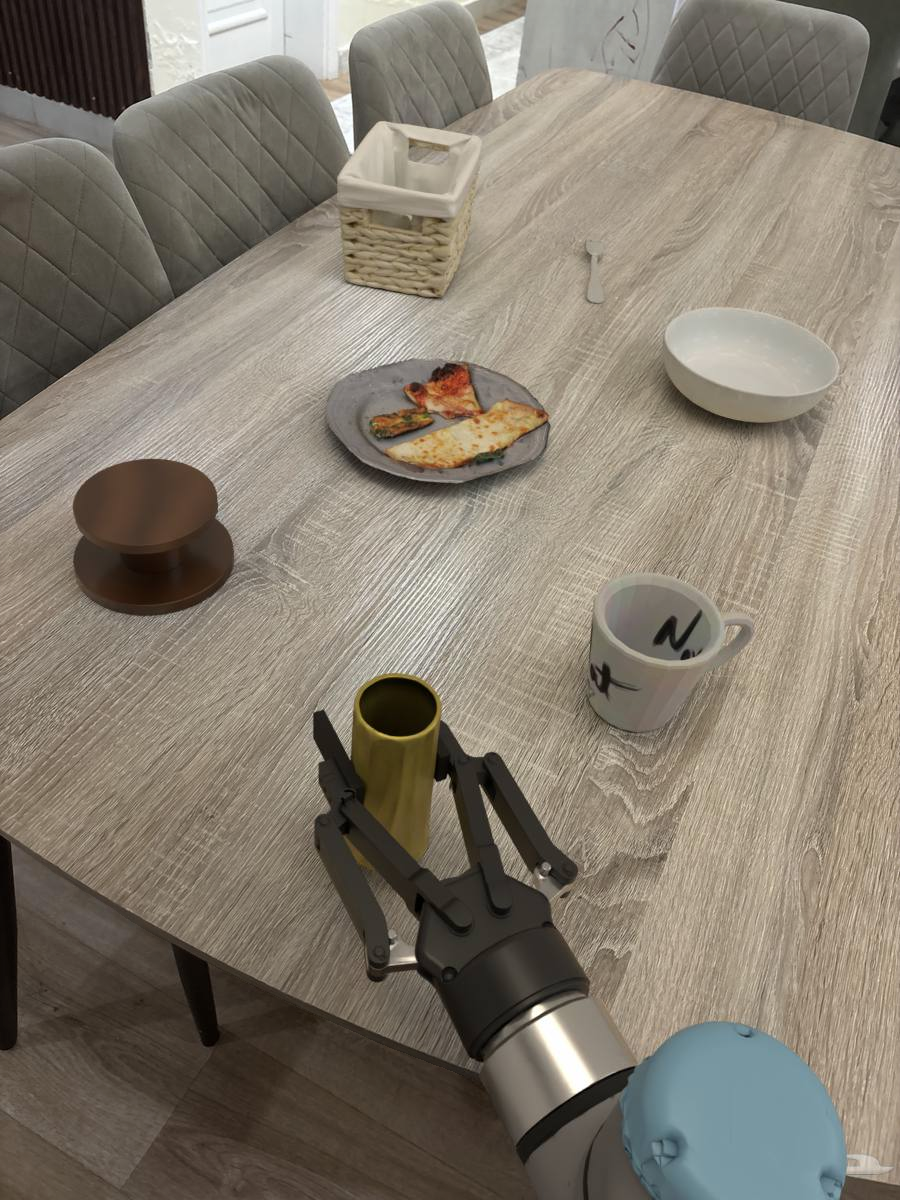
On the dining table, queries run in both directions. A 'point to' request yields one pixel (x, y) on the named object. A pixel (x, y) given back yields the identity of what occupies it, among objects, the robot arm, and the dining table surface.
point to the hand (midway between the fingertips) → (360, 710)
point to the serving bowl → (747, 363)
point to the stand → (150, 537)
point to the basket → (407, 208)
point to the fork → (595, 273)
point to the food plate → (437, 420)
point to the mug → (654, 647)
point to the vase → (396, 756)
